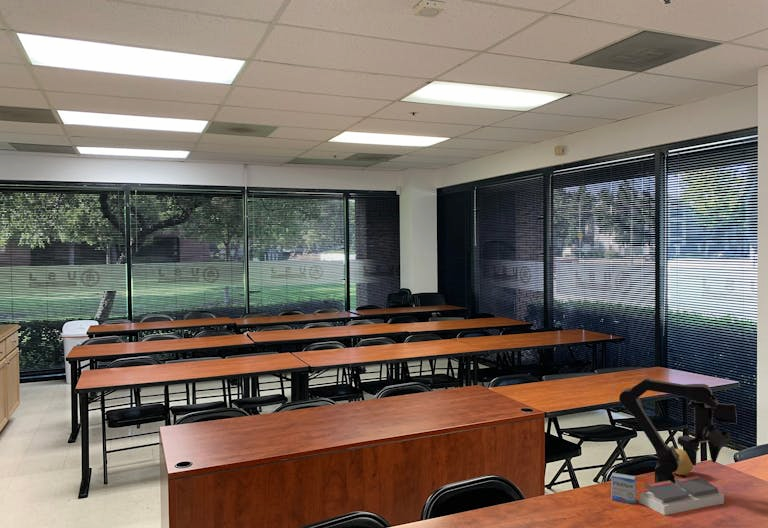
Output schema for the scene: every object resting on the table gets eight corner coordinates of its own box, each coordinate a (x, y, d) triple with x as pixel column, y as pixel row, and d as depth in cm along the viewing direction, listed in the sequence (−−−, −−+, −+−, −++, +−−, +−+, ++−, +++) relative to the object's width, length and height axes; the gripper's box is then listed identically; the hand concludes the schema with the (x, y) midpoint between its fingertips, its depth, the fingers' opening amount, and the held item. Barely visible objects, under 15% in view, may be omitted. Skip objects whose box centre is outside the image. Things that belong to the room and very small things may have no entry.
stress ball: (695, 477, 221) (683, 455, 228) (699, 464, 214) (687, 441, 222) (670, 481, 221) (659, 458, 229) (673, 468, 215) (662, 445, 223)
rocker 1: (645, 488, 194) (646, 484, 194) (669, 484, 198) (670, 479, 198) (663, 502, 187) (664, 498, 187) (687, 498, 191) (688, 493, 190)
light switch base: (639, 502, 195) (639, 490, 195) (696, 491, 204) (696, 480, 204) (664, 515, 185) (664, 503, 185) (724, 503, 194) (723, 491, 194)
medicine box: (611, 500, 197) (610, 475, 197) (612, 495, 201) (612, 471, 201) (635, 504, 193) (635, 479, 194) (636, 499, 197) (636, 475, 198)
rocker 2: (674, 483, 199) (675, 479, 198) (697, 479, 202) (698, 475, 202) (693, 496, 191) (694, 492, 191) (716, 492, 195) (717, 487, 195)
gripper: (702, 428, 189) (703, 474, 189) (743, 423, 195) (744, 468, 195) (676, 420, 200) (676, 463, 199) (715, 415, 205) (716, 458, 205)
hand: (704, 463), depth 199 cm, fingers open, 9 cm apart
